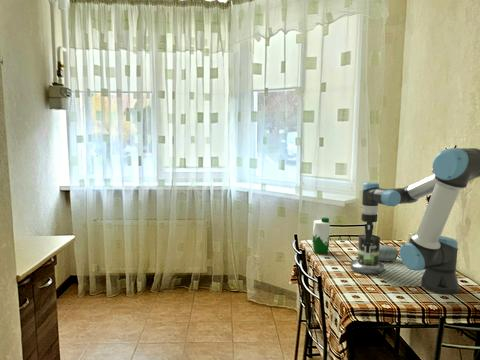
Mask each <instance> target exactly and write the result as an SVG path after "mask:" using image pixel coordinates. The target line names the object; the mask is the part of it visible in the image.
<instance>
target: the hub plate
mask: <svg viewBox="0 0 480 360" xmlns="http://www.w3.org/2000/svg"><path fill="white" fill-rule="evenodd" d="M357 262H358V259H353V260H352V261H351V262H350V270H351V271H353V272H356V274H361V275H367V276H378V275H382V274H383V273H384V271H385V265H384V264H383V263H381V262H379V266H378V267H364V266H361V265H359V264H358V263H357Z"/></svg>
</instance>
